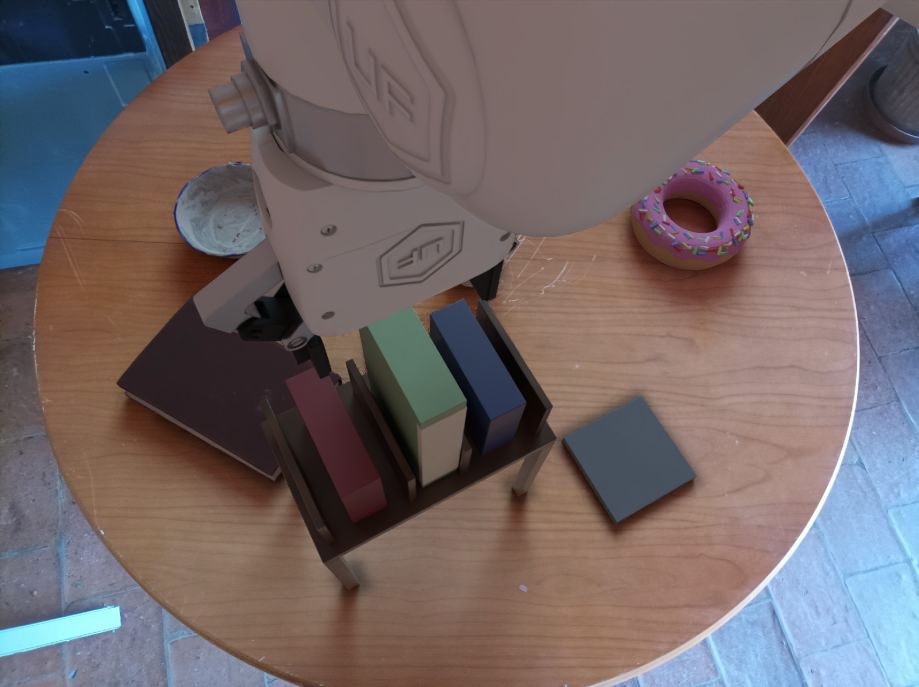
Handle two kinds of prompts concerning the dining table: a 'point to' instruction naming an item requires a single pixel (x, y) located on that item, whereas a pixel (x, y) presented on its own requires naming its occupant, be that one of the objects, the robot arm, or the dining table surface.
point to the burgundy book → (338, 444)
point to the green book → (415, 393)
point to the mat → (628, 459)
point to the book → (215, 385)
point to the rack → (400, 458)
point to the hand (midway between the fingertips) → (397, 315)
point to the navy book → (478, 376)
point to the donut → (684, 245)
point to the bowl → (220, 212)
